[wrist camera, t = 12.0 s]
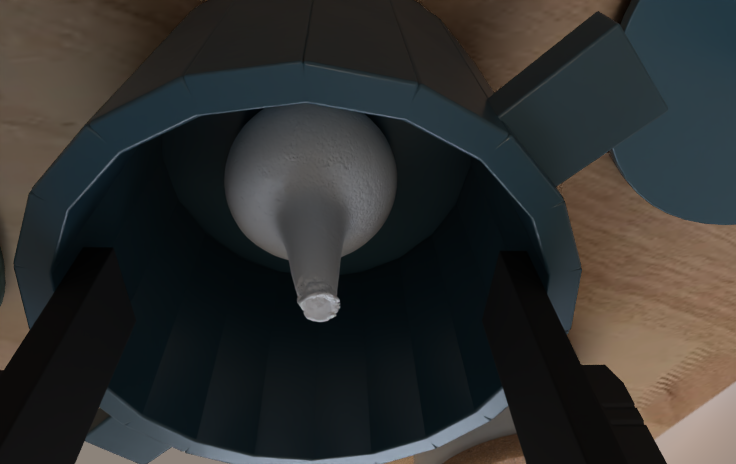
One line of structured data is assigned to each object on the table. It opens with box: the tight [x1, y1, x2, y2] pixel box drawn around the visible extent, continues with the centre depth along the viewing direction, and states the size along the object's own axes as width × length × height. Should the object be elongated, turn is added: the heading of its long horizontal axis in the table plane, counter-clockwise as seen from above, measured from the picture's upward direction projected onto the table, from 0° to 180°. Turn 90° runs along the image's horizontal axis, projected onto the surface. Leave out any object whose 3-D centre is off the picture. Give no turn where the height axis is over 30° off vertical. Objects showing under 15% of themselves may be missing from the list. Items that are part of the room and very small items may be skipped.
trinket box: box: [413, 407, 526, 464], centre depth 26 cm, size 11×11×9 cm
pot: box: [14, 0, 668, 464], centre depth 17 cm, size 14×19×10 cm
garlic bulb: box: [224, 103, 397, 322], centre depth 17 cm, size 6×6×8 cm
